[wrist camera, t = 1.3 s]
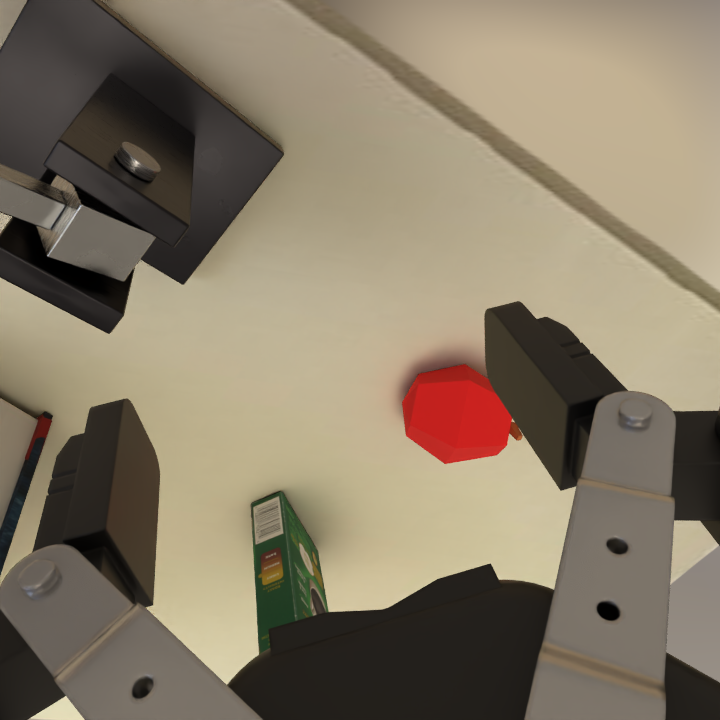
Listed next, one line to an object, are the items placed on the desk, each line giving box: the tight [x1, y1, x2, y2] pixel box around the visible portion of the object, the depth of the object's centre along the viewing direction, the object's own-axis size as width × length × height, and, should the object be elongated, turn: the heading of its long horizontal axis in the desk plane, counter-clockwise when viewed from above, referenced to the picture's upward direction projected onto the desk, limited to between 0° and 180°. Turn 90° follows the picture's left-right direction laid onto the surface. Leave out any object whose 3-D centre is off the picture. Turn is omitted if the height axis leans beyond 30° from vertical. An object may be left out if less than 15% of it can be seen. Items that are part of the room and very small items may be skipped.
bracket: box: [0, 0, 284, 334], centre depth 25 cm, size 12×9×13 cm
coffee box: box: [251, 491, 328, 654], centre depth 42 cm, size 8×3×13 cm, turn 18°
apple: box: [402, 364, 523, 464], centre depth 40 cm, size 7×7×8 cm
